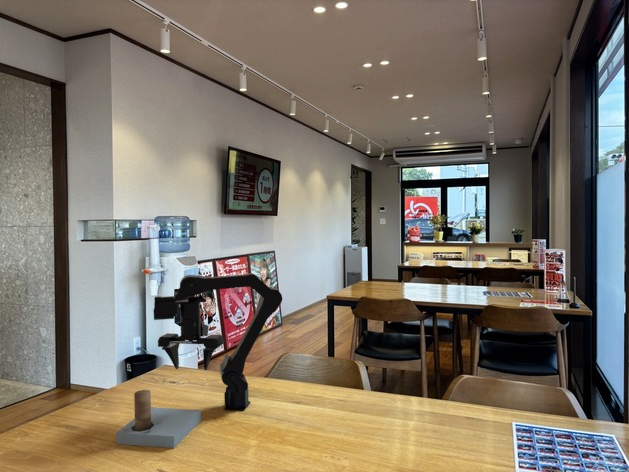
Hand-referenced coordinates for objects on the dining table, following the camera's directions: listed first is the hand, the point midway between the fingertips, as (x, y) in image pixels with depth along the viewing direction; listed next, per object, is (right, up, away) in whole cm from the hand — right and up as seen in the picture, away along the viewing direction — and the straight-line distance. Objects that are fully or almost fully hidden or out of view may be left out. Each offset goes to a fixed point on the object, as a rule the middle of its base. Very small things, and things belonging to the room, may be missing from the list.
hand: (191, 369), depth 132 cm
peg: (-9, -13, -15) cm, 22 cm away
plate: (-5, -13, -12) cm, 19 cm away
